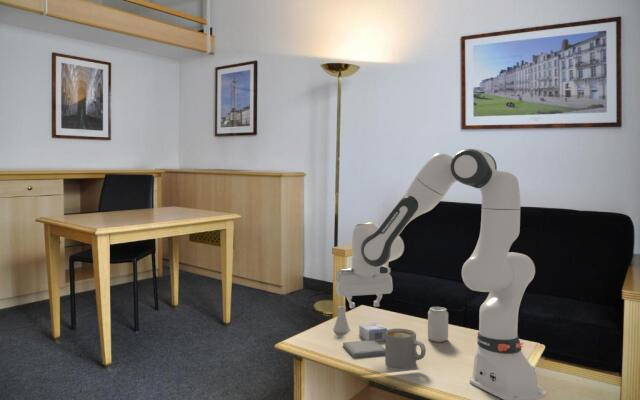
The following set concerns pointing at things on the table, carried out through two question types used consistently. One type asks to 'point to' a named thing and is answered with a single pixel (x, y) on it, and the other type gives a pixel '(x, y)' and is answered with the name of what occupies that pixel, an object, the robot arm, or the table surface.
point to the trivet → (364, 348)
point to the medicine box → (372, 332)
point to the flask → (341, 321)
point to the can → (438, 324)
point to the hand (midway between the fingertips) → (364, 307)
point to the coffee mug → (402, 348)
